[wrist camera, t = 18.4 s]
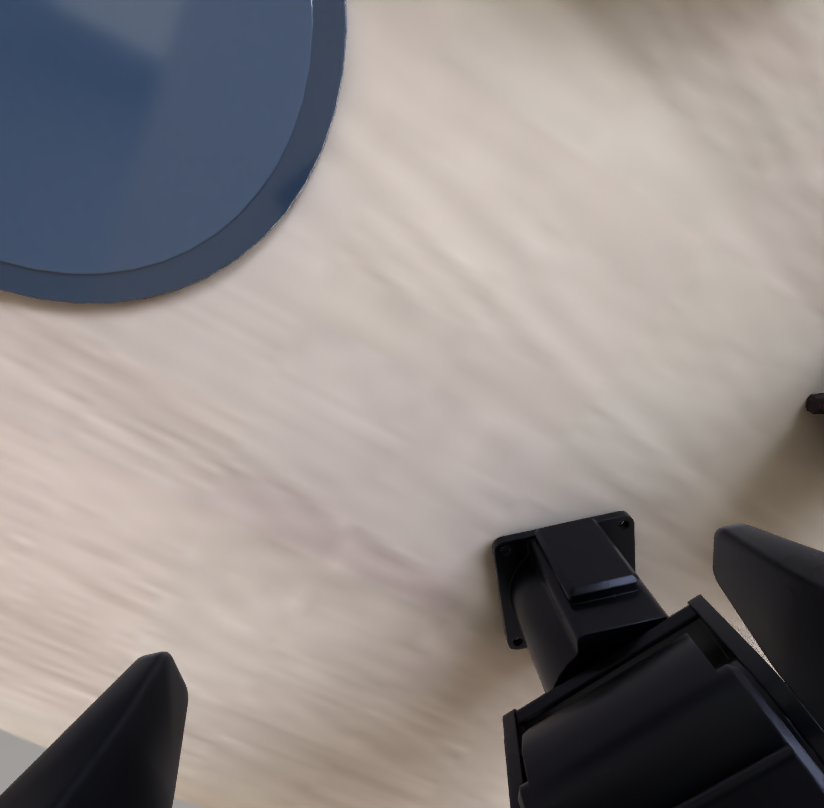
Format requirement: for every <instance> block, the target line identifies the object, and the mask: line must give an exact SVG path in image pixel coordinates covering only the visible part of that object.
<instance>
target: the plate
mask: <svg viewBox="0 0 824 808" xmlns="http://www.w3.org/2000/svg"><path fill="white" fill-rule="evenodd" d="M346 35H347V16H346V0H0V290H3V291H7V292H11V293H16V294H20V295H24V296H28V297H33V298H37V299H44V300H52V301H61V302H69V303H116V302H123V301H131V300H139V299H146V298H150V297H153V296H157V295H161V294H164V293H168V292H172V291H175V290H179V289H181V288H183V287H186V286H188V285H190V284H193V283H195V282H197V281H200V280H202V279H204V278H207V277H209V276H211V275H213V274H214V273H216V272H217V271H219V270H221V269H222V268H224V267H226V266H227V265H229V264H231V263H232V262H234V261H235V260H237V259H239V258H240V257H241V256H242V255H244V254H245V253H246V252H247V251H248V250H250V249H251V248H252V247H253V246H254V245H256V244H257V243H258V242H259V241H260V240H262V239H263V238H264V237H265V236H266V235H267V234H268V233H269V231H270V230H271V229H272V228H273V227H274V226H275V225H276V224H277V223H278V221H279V220H280V219H281V218H282V217H283V216H284V215H285V214H286V213H287V211H288V210H289V208H290V207H291V205H292V204H293V202H294V201H295V199H296V198H297V196H298V195H299V193H300V192H301V190H302V189H303V188H304V186H305V185H306V183H307V181H308V179H309V177H310V175H311V173H312V171H313V169H314V167H315V165H316V163H317V161H318V159H319V157H320V155H321V152H322V150H323V148H324V145H325V142H326V139H327V136H328V133H329V130H330V127H331V124H332V121H333V118H334V115H335V111H336V106H337V101H338V96H339V92H340V87H341V82H342V77H343V70H344V58H345V47H346Z"/></svg>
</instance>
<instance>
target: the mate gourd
mask: <svg viewBox="0 0 824 808" xmlns="http://www.w3.org/2000/svg"><path fill="white" fill-rule="evenodd" d="M806 409H807V411H809V412H811V413H812V414H824V393H818V394H812V395H810V396H809V398H808V401H807V405H806Z"/></svg>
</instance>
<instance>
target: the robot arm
mask: <svg viewBox="0 0 824 808" xmlns="http://www.w3.org/2000/svg"><path fill="white" fill-rule="evenodd" d="M621 521H624V522H623V523H622V524H620V525H618V524H619V523H620V522H621ZM502 547H508V548H507V549H505V550H500V549H501V548H502ZM492 550H493V557H494V563H495V570H496V577H497V583H498V590H499V596H500V603H501V610H502V616H503V623H504V629H505V636H506V640H507V643H508V645H509V647H510V648H511V649H515V650H517V649H523V648H527V647H528V650H529V652H530V655H531V657H532V660H533V662H534V665H535V668H536V670H537V673H538V675H539V678H540V680H541V683H542V686H543V688H544V691H545V694H543V695H542V696H540V697H538V698H537V699H535V700H533V701H532V702H530V703H529V704H527V705H525V706H524V707H522V708H521V709H519V710H516V709H514V710H512V711H510V712H509V713H507V714H505V715H504V716H503V727H504V744H505V755H506V765H507V776H508V786H509V797H510V808H824V552H822V551H819V550H816V549H813V548H810V547H808V546H805V545H802V544H799V543H797V542H794V541H791V540H788V539H785V538H783V537H780V536H777V535H774V534H772V533H769V532H766V531H763V530H760V529H758V528H755V527H752V526H749V525H746V524H734V525H730V526H725V527H721V528H719V529H717V530H716V532H715V535H714V552H713V572H714V575H715V578H716V580H717V582H718V584H719V586H720V587H721V589H722V590H723V592H724V593H725V595H726V596H727V598H728V599H729V601H730V602H731V604H732V605H733V607H734V609H735V610H736V612H737V613H738V615H739V616H740V618H741V619H742V621H743V622H744V624H745V625H746V627H747V628H748V630H749V631H750V633H751V634H752V636H753V637H754V639H755V640H756V642H757V643H758V645H759V646H760V648H761V650H762V651H763V653H764V654H765V656H766V657H767V658H768V660H769V661H770V663H771V664H772V666H773V667H774V668H775V670H776V671H777V672H778V674H779V675H780V676H781V678H782V679H783V680H784V681H783V680H782V679H781V678H780V677H779V675H778V674H777V673H776V672H775V671H774V670H773V669H772V668H771V667H770V666H769V664H768V663H767V662H766V661H765V660H764V659H763V658H762V657H761V656H760V655H759V654H758V653H757V652H756V651H755V650H754V649H753V648H752V647H751V646H750V645H749V644H748V643H747V642H746V641H745V640H744V639H743V638H742V637H741V635H740V634H739V633H738V632H737V631H736V630H735V629H734V628H733V627H732V626H731V625H730V624H729V623H728V622H727V621H726V620H725V619H724V618H723V617H722V616H721V615H720V614H719V613H718V612H717V611H716V610H715V609H714V608H713V607H712V606H711V605H710V604H709V603H708V602H707V601H706V600H705V599H704V598H703V596H702V595H698V596H696V597H695V598H693V599H692V600H690V601H688V604H689V605H688V606H686V607H684V608H683V609H681V610H679V611H678V612H676V613H675V614H673V615H671V616H670V617H669V616H668V615H667V614H666V612H665V611H664V610H663V608H662V607H661V606H660V605H659V603H658V602H657V601H656V599H655V598H654V597H653V595H652V594H651V593H650V591H649V590H648V589H647V587H646V586H645V585H644V583H643V582H642V581H641V579H640V578H639V577H638V575H637V574H636V572H635V537H634V521H633V519H632V518H631V517H630V515H629V514H628V513H627V512H624V511H618V512H613V513H609V514H604V515H599V516H595V517H590V518H585V519H580V520H576V521H571V522H567V523H562V524H558V525H553V526H548V527H544V528H540V529H535V530H531V531H526V532H521V533H517V534H512V535H508V536H503V537H500V538H497V539H496V540H495V541H494V543H493V545H492ZM516 638H518V639H516ZM787 685H788V686H787ZM187 706H188V691H187V687H186V684H185V682H184V680H183V678H182V676H181V674H180V672H179V670H178V668H177V666H176V664H175V662H174V660H173V658H172V656H171V655H170V654H169V653H168V652H158V653H154V654H149V655H145V656H142V657H140V658H138V659H137V660H136V661H135V662H134V663H133V664H132V665H131V666H130V667H129V668H128V669H127V670H126V671H125V672H124V673H123V674H122V675H121V676H120V677H119V678H118V679H117V680H116V681H115V682H114V683H113V684H112V685H111V686H110V687H109V688H108V689H107V690H106V691H105V692H104V693H103V694H102V695H101V696H100V697H99V698H98V699H97V700H96V701H95V702H94V703H93V704H92V705H91V706H90V707H89V708H88V709H87V710H86V711H85V712H84V713H83V714H82V715H81V716H80V717H79V718H78V719H77V720H76V721H75V722H74V723H73V724H72V725H71V726H70V727H69V728H68V729H67V730H66V731H65V732H64V733H63V734H62V735H61V736H60V737H59V738H58V739H57V740H56V741H55V742H54V743H53V744H52V745H51V746H50V747H49V748H48V749H47V750H46V751H45V752H44V753H43V754H42V755H41V756H40V757H39V758H38V759H37V760H36V761H34V762H33V764H32V765H31V766H30V767H28V769H26V770H25V772H24V773H22V775H20V776H19V777H18V778H17V779H16V780H15V781H14V782H13V783H12V784H11V785H10V786H9V787H8V788H7V789H6V790H5V791H4V792H3V794H1V795H0V808H172V805H173V799H174V793H175V787H176V780H177V774H178V767H179V760H180V753H181V747H182V740H183V733H184V726H185V720H186V713H187Z"/></svg>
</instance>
